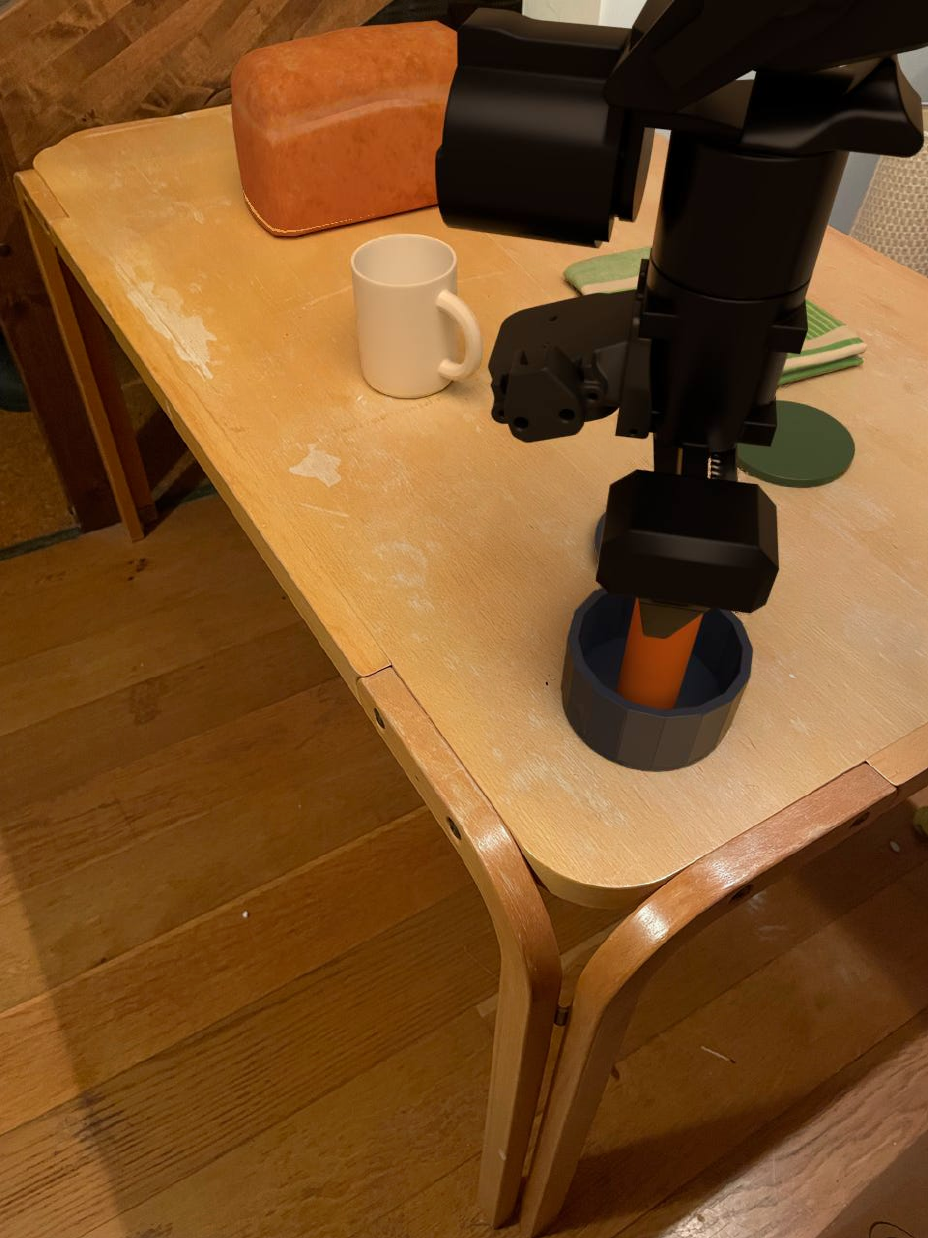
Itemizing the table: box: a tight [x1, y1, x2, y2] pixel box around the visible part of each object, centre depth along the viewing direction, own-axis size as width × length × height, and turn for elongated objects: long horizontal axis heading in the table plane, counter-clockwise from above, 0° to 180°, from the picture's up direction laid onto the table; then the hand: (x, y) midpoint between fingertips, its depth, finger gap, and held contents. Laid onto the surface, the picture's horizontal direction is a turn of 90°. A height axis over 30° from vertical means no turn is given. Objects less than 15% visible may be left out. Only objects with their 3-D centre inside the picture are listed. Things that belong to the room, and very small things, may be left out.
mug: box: [349, 233, 484, 399], centre depth 72 cm, size 12×8×10 cm
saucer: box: [738, 399, 856, 488], centre depth 70 cm, size 10×10×1 cm
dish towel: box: [562, 245, 868, 386], centre depth 81 cm, size 18×23×3 cm
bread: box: [229, 20, 457, 237], centre depth 93 cm, size 14×26×16 cm, turn 116°
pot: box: [560, 586, 754, 773], centre depth 52 cm, size 10×10×6 cm
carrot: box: [617, 598, 703, 710], centre depth 50 cm, size 4×4×12 cm
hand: (660, 564), depth 44 cm, fingers open, 9 cm apart
